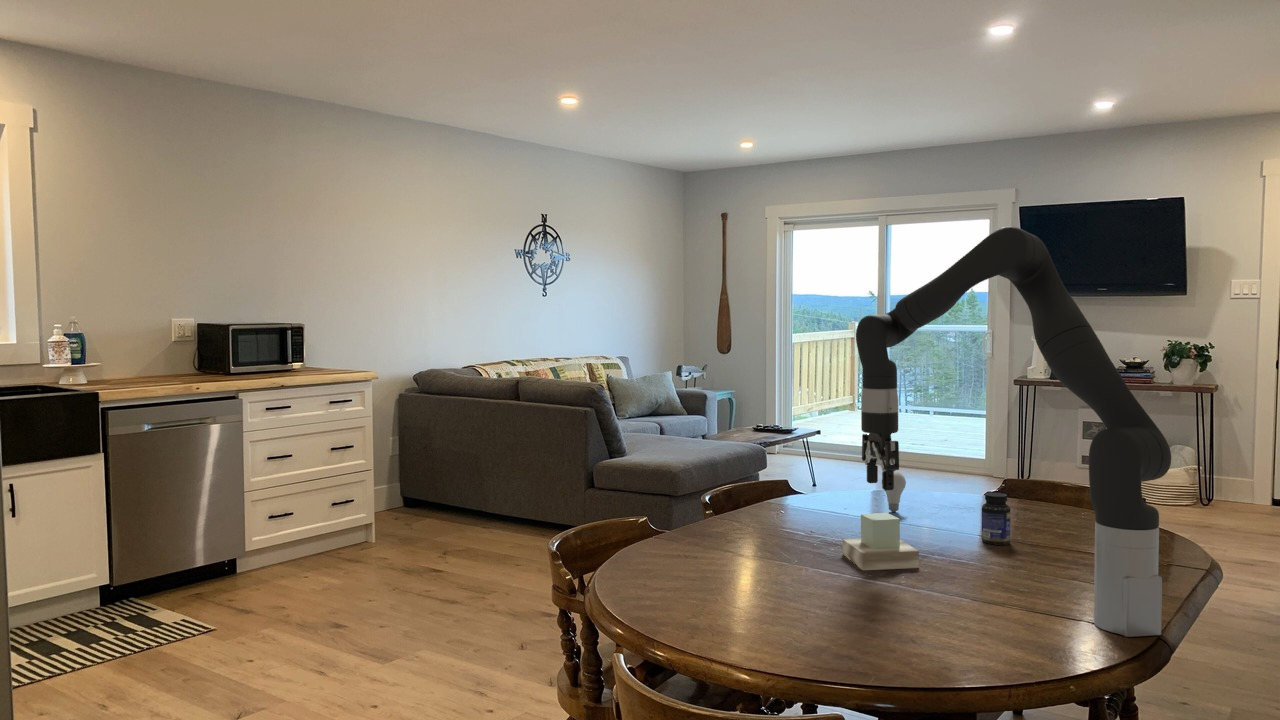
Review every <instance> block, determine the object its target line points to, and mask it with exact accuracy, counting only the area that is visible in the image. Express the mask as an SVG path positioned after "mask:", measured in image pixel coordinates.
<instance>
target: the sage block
mask: <svg viewBox="0 0 1280 720" xmlns="http://www.w3.org/2000/svg"><path fill="white" fill-rule="evenodd" d="M900 521H901V519H900V518H898V517H897V516H894V515H892V514H890V513H888V512H877V513H861V514H860V538H861V542H862V543H863V544H865V545H867V546H868V547H870V548H872V549H881V548H898V547H900V540H901V538H900V537H901V533H900V532H901V528H900V527H901V523H900Z"/></svg>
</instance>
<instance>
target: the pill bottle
mask: <svg viewBox="0 0 1280 720" xmlns="http://www.w3.org/2000/svg"><path fill="white" fill-rule="evenodd" d="M984 500H985V503H983V505H982V506H981V541H982V542H983V543H985V544H988V545H993V546H994V545H995V546H1007V545H1009V544H1010V543H1011V507H1010V506H1009V505H1008V504H1007V501H1008V495H1007V494H1006V493H1001V492H987V493H984Z"/></svg>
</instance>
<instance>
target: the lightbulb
mask: <svg viewBox="0 0 1280 720" xmlns="http://www.w3.org/2000/svg"><path fill="white" fill-rule="evenodd" d="M906 484H907V481H906V478H905V476H904V475H903V474H902V473H901V472H899V471H898V470H895V472H894V489H893V490H884V492H885V494H886V495H885V496H886V497H887V498H886V500H887V503H888V506H887V507H888V510H889V511H891V513H896V512H899V508H900V502H901V496H902V493H903V491H904V490H905V488H906Z"/></svg>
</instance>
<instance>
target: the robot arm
mask: <svg viewBox="0 0 1280 720" xmlns="http://www.w3.org/2000/svg"><path fill="white" fill-rule="evenodd" d="M998 276H999V277H1003V278H1004V279H1007V280H1008V281H1010V282H1011V283H1012V284H1013V286H1014V287H1015V288H1016V290H1017V292H1018V293H1019V294H1020V295H1021V297H1022V298H1023V300H1024V302H1025V303H1026V305H1027V307H1028V310H1029V312H1030V315H1031V322H1032V330H1033V336H1034V339H1035V343H1036V345H1037V347H1038V349H1039V351H1040V353H1041V354H1042V357H1043V359H1044V361H1045V362H1046V364H1047V366H1048V368H1049V370H1050V371H1051V372H1052V375H1054V376H1055V378H1056V380H1058V381H1059V382H1060V383H1061V384H1062V385H1063V386H1065V387H1066V389H1068V390H1069V391H1070V392H1071V393H1072V394H1073V395H1075V396H1077V397H1078V398H1079V399H1080V400H1081V401H1083V402H1084V403H1085V404H1086V405H1087V406H1089V408H1091V410H1093V412H1094V413H1095V414H1096V415H1097V416H1098V417H1099V419H1100V420H1101V423H1103V426H1104V427H1105V428H1104V429H1102V430H1100V431H1098V432H1097V433H1096V434H1095V435H1094V437H1093V439H1092V440H1091V443H1090V445H1089V449H1088V483H1089V484H1088V485H1089V498H1090V504H1091V506H1092V508H1093V511H1094V514H1095V515H1094V516H1095V517H1094V518H1095V519H1094V521H1095V522H1094V572H1093V573H1094V583H1093V586H1094V587H1093V589H1094V590H1093V591H1094V592H1093V593H1094V594H1093V602H1094V604H1093V623H1094V625H1095V626H1096V627H1097V628H1099V629H1101V630H1104V631H1107V632H1110V633H1113V634H1114V633H1115V634H1119V635H1122V636H1123V637H1127V638H1129V637H1130V638H1133V637H1148V636H1161V635H1162V610H1163V609H1162V608H1163V607H1162V605H1163V604H1162V603H1163V602H1162V601H1163V600H1162V599H1163V597H1162V596H1163V579H1162V577H1161V575H1159V547H1160V546H1159V545H1160V544H1159V543H1160V539H1159V538H1160V512H1159V511H1158V509H1157V508H1156V506H1153V505H1151V504H1147V503H1146V502H1145V500H1144V498H1143V492H1142V491H1143V490H1142V482H1149V481H1150V482H1151V481H1155V480H1158V479H1160V478H1163V477H1164V476H1166V474H1167V473H1168V472H1169V470H1170V468H1171V466H1172V465H1171V464H1172V453H1171V449H1170V445H1169V443H1168V441H1167V440H1166V437H1165V436H1164V434H1163V432H1162V431H1161V430H1160V428H1159V427H1158V426H1157V425H1156V423H1155V422H1154V420H1153V419H1152V418H1151V417H1150V415H1149V414H1148V413H1147V412H1146V410H1145V409H1144V407H1142V405H1141V404H1140V403H1139V401H1138V399H1136V397H1135V396H1134V394H1133V393H1132V391H1131V390H1130V388H1129V387H1128V385H1127V384H1126V382H1125V380H1124V379H1123V377H1122V376H1121V374H1120V372H1119V371H1118V368H1117V367H1116V365H1115V364H1114V363H1113V361H1112V359H1111V358H1110V356H1109V354H1108V353H1107V351H1106V349H1105V347H1104V345H1103V343H1102V342H1101V340H1100V339H1099V337H1098V335H1097V334H1096V332H1095V331H1094V329H1093V327H1092V325H1091V324H1090V323H1089V322H1088V320H1087V319H1086V316H1085V315H1084V313H1083V312H1082V311H1081V309H1080V307H1079V306H1078V304H1077V302H1076V301H1075V300H1074V298H1073V297H1072V295H1070V293H1069V291H1068V290H1067V288H1066V286H1065V285H1064V283H1063V281H1062V279H1061V277H1060V275H1059V272H1058V270H1057V268H1056V266H1055V264H1054V261H1053V259H1052V256H1051V254H1050V251H1049V249H1048V248H1047V246H1046V245H1045V243H1044V242H1043V240H1042V239H1040V238H1039V237H1038V236H1036V234H1032V233H1030V232H1028V231H1026V230H1024V229H1022V228H1019V227H1016V226H1011V225H1007V226H1002V227H1000V228H998V229H996V230H995V231H993V232H992V233H990V234H989V235H987V236H986V237H985V238H984V239H983V240H981V241H980V242H979V243H978V244H976V246H974V247H973V248H972V249H971V250H970V251H968V252H967V253H966V254H965V255H963V256H962V257H961V258H959V259H958V260H957V261H956V262H955V263H953V264H952V265H951V266H949V267H948V268H946V270H945V271H943V272H942V273H941V274H939V275H938V276H936V277H935V278H934V279H932V280H930V281H929V282H927V283H926V284H924V285H922V286H921V287H918V288H917V289H915V290H913V291H912V292H910V293H908V294H907V295H905V296H904V297H902V298H900V299H899V301H898V302H896V304H895V308H894V309H892V310H890V311H889V312H886V313H885V314H869V315H865V316H863V317H862V318H861V319H860V320H859V322H858V323H857V326H856V329H855V330H856V331H855V340H856V341H855V342H856V347H857V351H858V352H857V353H858V355H859V361H860V364H861V366H862V392H861V404H860V405H861V407H860V409H861V410H860V411H861V412H860V413H861V414H860V415H861V417H860V418H861V419H860V421H861V426H860V427H861V432H863V433H862V437H861V438H862V439H861V440H862V442H861V460H862V462H864V464H865V466H866V482H867V483H869V484H877V483H878V481H879V480H878V479H879V477H878V476H879V471H878V470H879V467H878V466H879V465H878V463H879V464H880V469H881V471H882V472H881V487H882V490H883V491H885V490H893V489H894V472H895V471H899V470H900V450H899V449H900V448H899V447H900V445H899V444H900V443H899V441H898V440H892V436H891V435H892V434H896V433H898V432H899V396H898V368H897V365H896V363H895V362H894V361H893V360H890V358H889V352H888V348H892V347H894V346H898V344H900V343H902V342H904V341H905V340H906V339H907V338H909V337H910V336H911V335H912V334H914V333H915V332H916V331H918V329H920V328H922V327H924V326H926V325H928V324H929V323H932V322H933V321H935V320H936V319H939V318H940V317H942V316H943V315H945V314H946V313H947V312H949V311H950V310H951V309H952V308H953V307H955V305H956V304H957V303H958V301H959V300H960V299H961V298H962V297H963V296H964V295H965V294H966V293H967V292H968V291H969V290H970V289H972V288H974V287H975V286H977V285H978V284H980V283H982V282H984V281H986V280H987V281H988V279H991V278H994V277H998Z"/></svg>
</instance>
